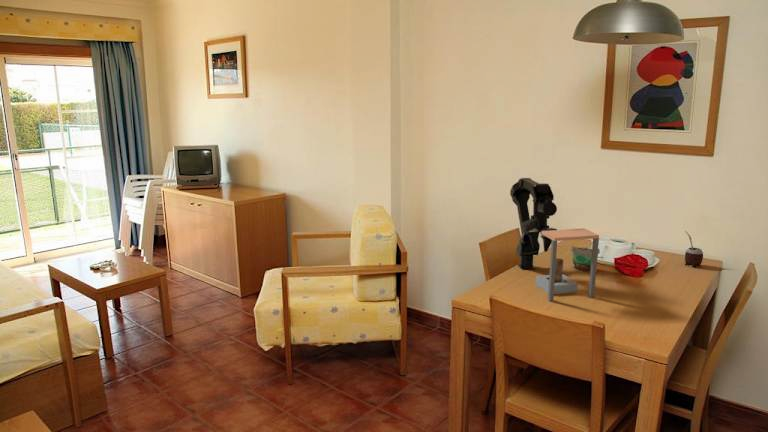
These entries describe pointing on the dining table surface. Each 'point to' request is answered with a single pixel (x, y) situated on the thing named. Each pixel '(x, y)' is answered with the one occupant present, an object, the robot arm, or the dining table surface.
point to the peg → (558, 270)
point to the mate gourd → (693, 255)
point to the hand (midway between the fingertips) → (539, 249)
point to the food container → (582, 258)
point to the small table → (549, 280)
